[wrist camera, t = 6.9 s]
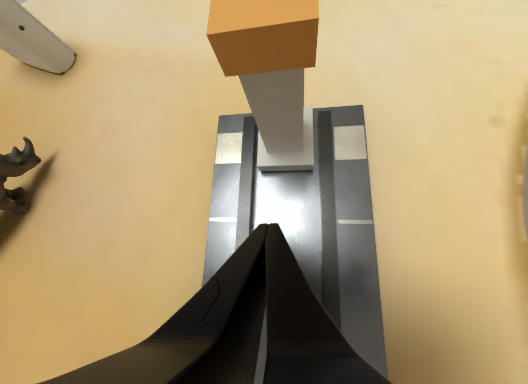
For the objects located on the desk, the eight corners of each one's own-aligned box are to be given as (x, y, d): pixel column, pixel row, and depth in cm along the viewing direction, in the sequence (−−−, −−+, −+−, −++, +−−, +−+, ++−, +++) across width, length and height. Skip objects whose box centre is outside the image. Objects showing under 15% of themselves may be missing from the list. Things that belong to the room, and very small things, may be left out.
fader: (312, 170, 17) (333, 34, 6) (259, 171, 18) (192, 53, 7) (311, 115, 18) (327, -80, 7) (262, 119, 19) (208, -53, 8)
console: (384, 407, 14) (398, 437, 12) (199, 378, 16) (184, 398, 14) (359, 113, 19) (366, 96, 17) (223, 122, 21) (215, 109, 19)
